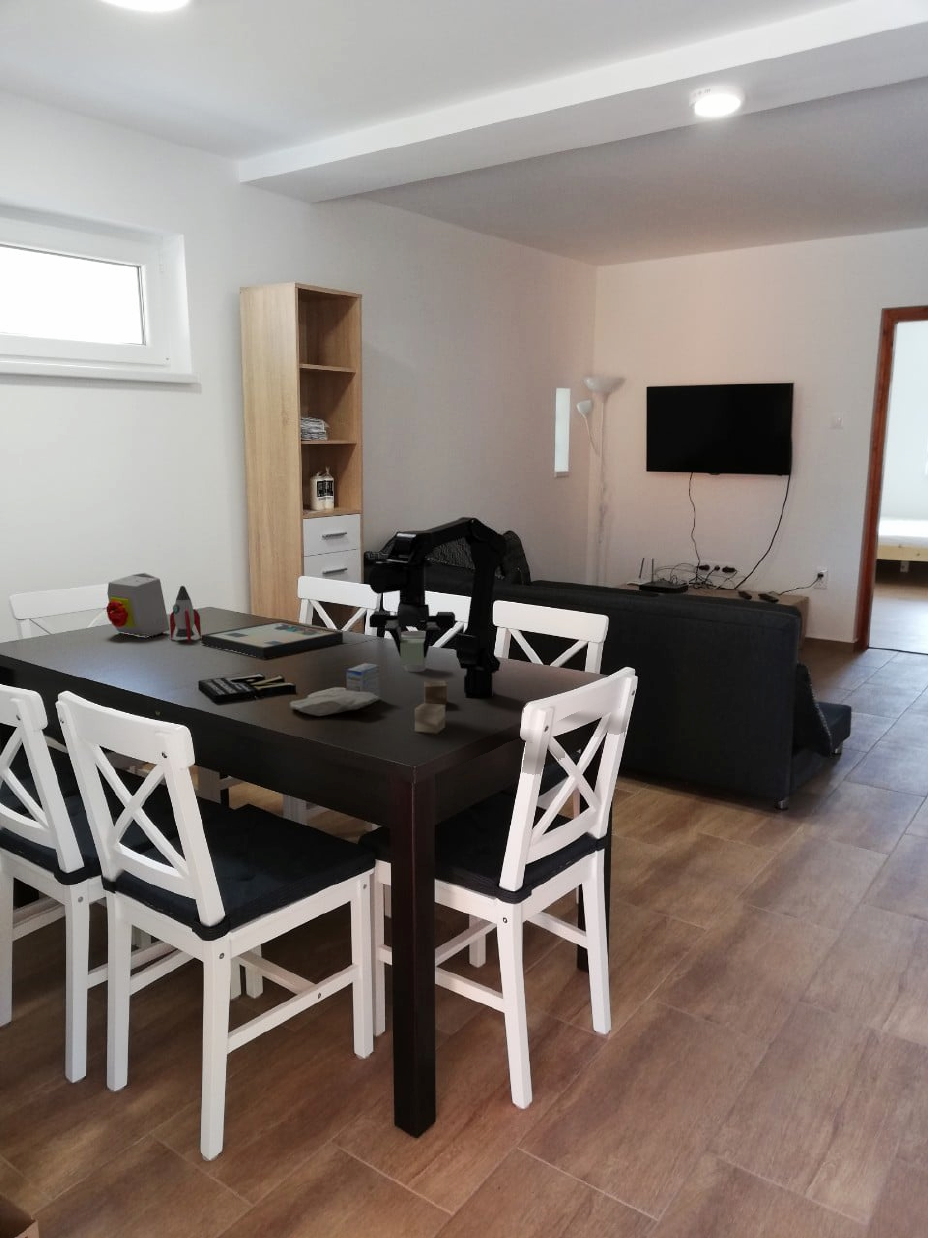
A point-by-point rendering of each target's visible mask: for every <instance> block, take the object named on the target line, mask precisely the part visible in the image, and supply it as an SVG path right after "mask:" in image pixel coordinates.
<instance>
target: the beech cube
mask: <svg viewBox="0 0 928 1238" xmlns="http://www.w3.org/2000/svg"><path fill="white" fill-rule="evenodd" d="M444 728H446V706H445V705H440V704H429V703H424V702H423V703H421V704H419V705H418V706H417V707H416V708H414V732H417V733H418V732H419V733H428V734H438V733H440V732H441V731H442V730H443V729H444Z"/></svg>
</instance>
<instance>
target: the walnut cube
mask: <svg viewBox="0 0 928 1238" xmlns="http://www.w3.org/2000/svg"><path fill="white" fill-rule="evenodd" d="M447 691H448V687H447V684H446V681H445V680H431V681H430V680H425V681H423V703H429V704H440V705H445V707H448V699H447V698H448V692H447Z"/></svg>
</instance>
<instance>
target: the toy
mask: <svg viewBox="0 0 928 1238" xmlns="http://www.w3.org/2000/svg"><path fill="white" fill-rule="evenodd" d="M174 603H175V604H173V606H172V612H171V614H170V616H169V630H170V639H171V638H172V639H173V637H174V632H175V630H176V629H177V631H176V634H175V637H176V638H187V640H188V641H187V642H188V644H189V643H190V642H191V643H192V637H194V636H195V635H196V634H195V633H194V631H193V627H194V626H195V628H196V631H197V633H198V635H199V638H200V637H201V638H202V636H201V635H202V628H201V616H200V613H199V611H197V610H196V609H194V605H193V601H192V599H191V597H190V595H189V592H188V591H187V589H186V587H185V585H181V586H180V587H179V590H178V593H177V596H176V598H175V602H174Z"/></svg>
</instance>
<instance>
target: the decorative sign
mask: <svg viewBox="0 0 928 1238" xmlns="http://www.w3.org/2000/svg"><path fill="white" fill-rule="evenodd" d="M197 683H198V684H197V685H198V691H200V693H202V694H203V695H205V697H207V698H208V699H209V700H210V701H212V703H214V704H215V705H221V704H228V703H234V702H241V701H251V700H254V699H255V700H256V698H257V699H262V698H263V696H264V697H270V696H269V695H271V696H277V694H278V695H285V694H284V693H286V694H292V693H295V694H297V685H296V684H295V683H294V682H293V681H290V682H288V681H287V682H286V680H285V677H284V675H283V676H282V675H281V674H278V675H276V676H274V677H271V678H270V677H269V678H266V676H265V675H263V673H261V672H259V673H256V674H250V675H241V676H234V677H226V676H224V677H217V678H210V679H209V678H208V679H202V680H198V681H197ZM255 696H256V697H255ZM250 699H251V700H250Z"/></svg>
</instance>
